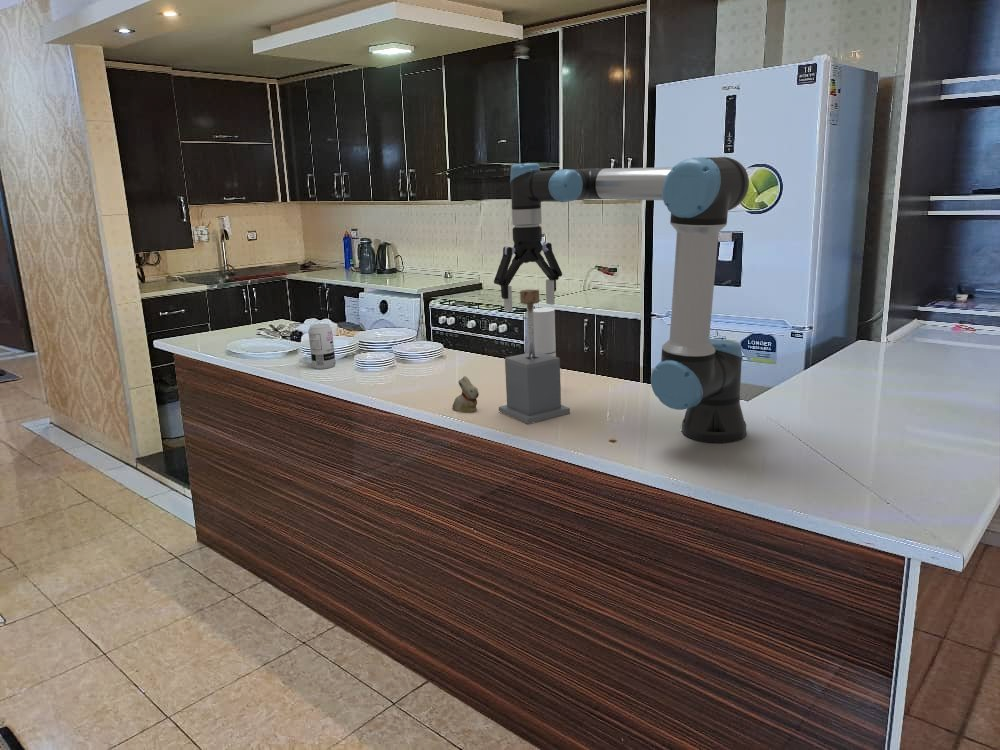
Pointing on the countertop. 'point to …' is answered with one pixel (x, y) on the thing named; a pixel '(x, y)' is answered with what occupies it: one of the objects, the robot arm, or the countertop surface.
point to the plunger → (530, 316)
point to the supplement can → (321, 346)
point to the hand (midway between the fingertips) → (529, 307)
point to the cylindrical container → (544, 330)
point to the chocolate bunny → (466, 397)
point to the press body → (533, 388)
